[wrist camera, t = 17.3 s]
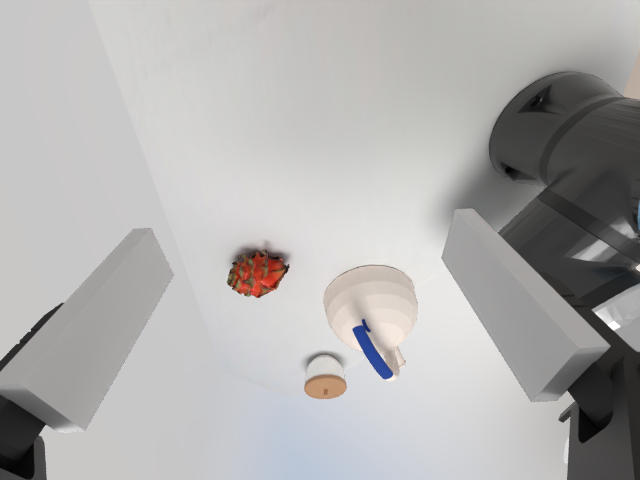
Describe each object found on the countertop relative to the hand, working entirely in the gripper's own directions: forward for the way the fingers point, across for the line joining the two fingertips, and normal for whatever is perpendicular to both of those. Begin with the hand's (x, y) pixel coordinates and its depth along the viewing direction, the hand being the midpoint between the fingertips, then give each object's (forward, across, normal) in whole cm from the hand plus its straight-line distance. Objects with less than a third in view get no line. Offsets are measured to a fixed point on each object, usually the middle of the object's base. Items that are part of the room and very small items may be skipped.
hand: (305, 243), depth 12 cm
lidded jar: (+32, 0, -64) cm, 72 cm away
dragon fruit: (+32, -11, -27) cm, 43 cm away
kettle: (+32, +11, -40) cm, 52 cm away
